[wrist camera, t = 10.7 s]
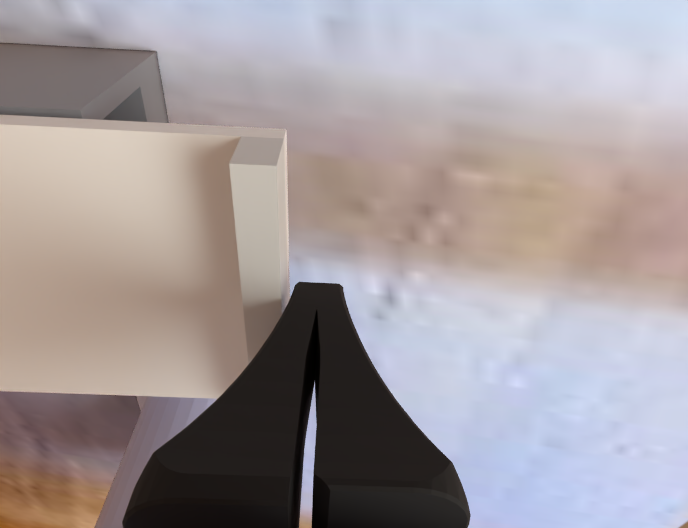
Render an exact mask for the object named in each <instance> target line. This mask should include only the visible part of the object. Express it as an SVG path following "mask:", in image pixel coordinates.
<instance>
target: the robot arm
mask: <svg viewBox="0 0 688 528" xmlns="http://www.w3.org/2000/svg"><path fill="white" fill-rule="evenodd" d="M314 382H315V393H316V418H317V430H316V445H315V461H314V478H313V508H312V528H467V527H468V525H469V521H470V511H469V506H468V502H467V498H466V495H465V492H464V489H463V487H462V484H461V482H460V479H459V477H458V474H457V472H456V470H455V467H454V465H453V463H452V462H451V461H450V460H449V459H448V458H447V457H446V456H445V455H444V454H443V453H442V452H441V451H440V450H439V449H438V448H437V447H436V446H435V445H434V444H433V443H432V442H431V441H430V440H429V439H428V438H427V437H426V435H425V434H424V433H423V432H422V431H421V430H420V429H419V428H418V426H417V425H416V424H415V423H414V422H413V421H412V419H411V418H410V417H409V416H408V414H407V413H406V412H405V411H404V409H403V408H402V407H401V405H400V404H399V403H398V402H397V400H396V399H395V398H394V396H393V395H392V393H391V392H390V391H389V389H388V388H387V386H386V385H385V383H384V382H383V380H382V378H381V377H380V375H379V374H378V372H377V370H376V369H375V367H374V365H373V364H372V362H371V360H370V358H369V356H368V354H367V352H366V350H365V349H364V347H363V344H362V342H361V340H360V338H359V336H358V334H357V331H356V329H355V327H354V324H353V322H352V319H351V317H350V314H349V311H348V308H347V305H346V301H345V297H344V292H343V287H342V286H341V285H340V284H332V283H309V282H299V283H297V284H296V285H295V287H294V290H293V293H292V295H291V298H290V300H289V302H288V304H287V306H286V308H285V310H284V312H283V314H282V315H281V317H280V319H279V321H278V322H277V324H276V326H275V327H274V329H273V331H272V332H271V334H270V335H269V337H268V338H267V340H266V341H265V343H264V344H263V345H262V347H261V348H260V350H259V351H258V353H257V354H256V355H255V357H254V358H253V359H252V361H251V362H250V363H249V364H248V366H247V367H246V368H245V369H244V370H243V372H242V373H241V374H240V375H239V376H238V378H237V379H236V380H235V381H234V382H233V383H232V384H231V385H230V386H229V387H228V388H227V389H226V391H225V392H224V393H223V394H222V395H221V396H220V397H219V398H218V399H213V398H184V397H155V396H136V398H137V401H138V404H139V408H140V411H141V413H140V416H139V418H138V421H137V423H136V426H135V428H134V431H133V433H132V436H131V438H130V441H129V443H128V446H127V448H126V451H125V453H124V456H123V458H122V460H121V463H120V465H119V468H118V470H117V473H116V475H115V478H114V480H113V483H112V485H111V488H110V490H109V493H108V495H107V498H106V500H105V503H104V505H103V508H102V510H101V512H100V515H99V517H98V520H97V522H96V525H95V527H94V528H299V518H300V503H301V488H302V473H303V458H304V446H305V438H306V431H307V425H308V418H309V412H310V406H311V400H312V394H313V388H314Z"/></svg>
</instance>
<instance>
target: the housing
mask: <svg viewBox="0 0 688 528" xmlns="http://www.w3.org/2000/svg"><path fill="white" fill-rule="evenodd" d="M0 115H18V116H38V117H57V118H77V119H97V120H117V121H137V122H156V123H168V117H167V111H166V105H165V99H164V93H163V87H162V81H161V75H160V69H159V63H158V58H157V52H156V51H141V50H123V49H104V48H86V47H68V46H49V45H31V44H13V43H0Z"/></svg>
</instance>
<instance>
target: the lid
mask: <svg viewBox="0 0 688 528" xmlns="http://www.w3.org/2000/svg"><path fill="white" fill-rule="evenodd" d="M289 300H290V282H289V232H288V183H287V133H286V129H275V128H255V127H235V126H216V125H196V124H176V123H156V122H137V121H117V120H97V119H77V118H57V117H38V116H18V115H0V391H12V392H41V393H69V394H98V395H127V396H155V397H184V398H213V399H218V398H219V397H220V396H221V395H222V394H223V393H224V392H225V391H226V389H227V388H228V387H229V386H230V385H231V384H232V383H233V382H234V381H235V380H236V379H237V378H238V376H239V375H240V374H241V373H242V372H243V370H244V369H245V368H246V367H247V366H248V364H249V363H250V362H251V361H252V359H253V358H254V357H255V355H256V354H257V353H258V351H259V350H260V348H261V347H262V345H263V344H264V343H265V341H266V340H267V338H268V337H269V335H270V334H271V332H272V331H273V329H274V327H275V326H276V324H277V322H278V321H279V319H280V317H281V315H282V314H283V312H284V310H285V308H286V306H287V304H288V302H289Z"/></svg>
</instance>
